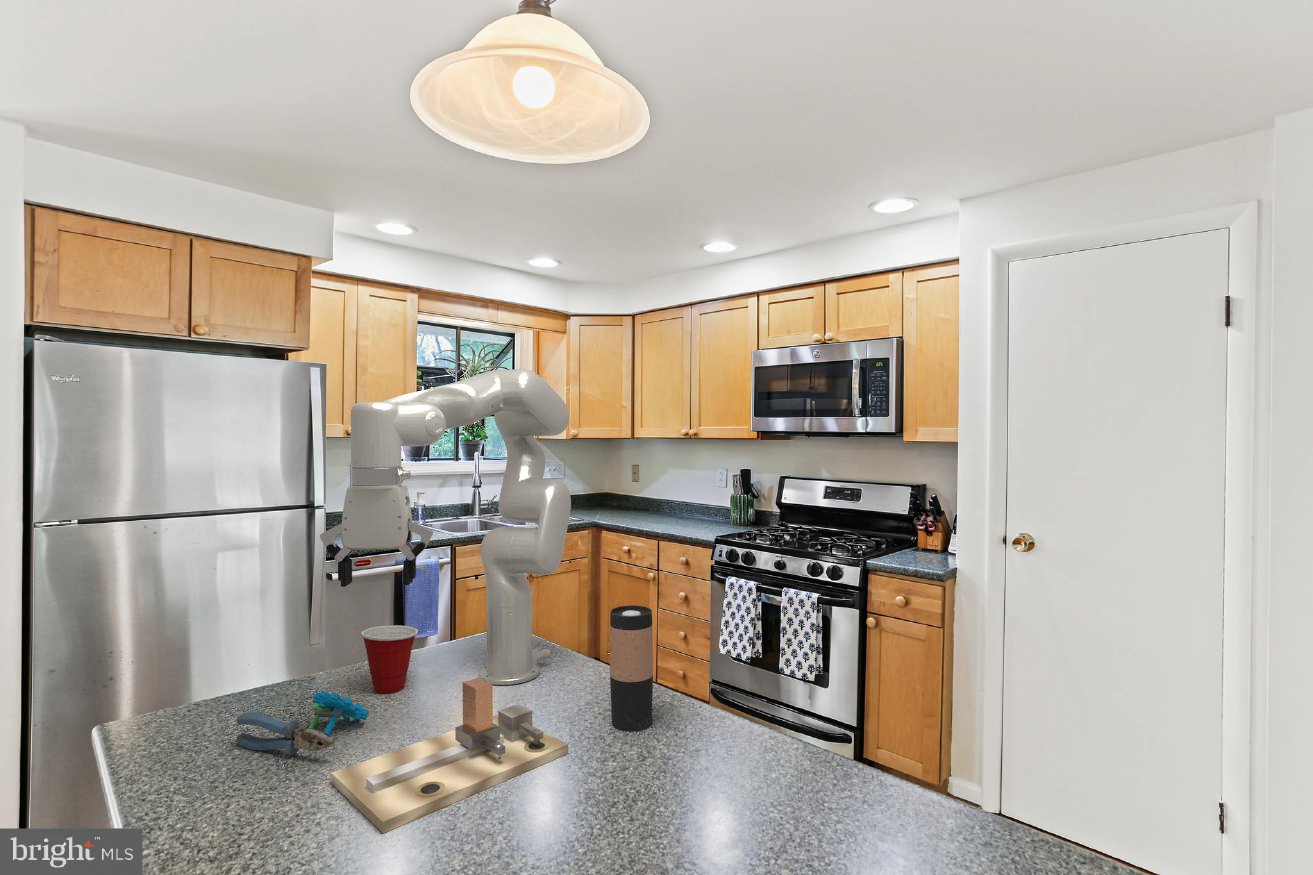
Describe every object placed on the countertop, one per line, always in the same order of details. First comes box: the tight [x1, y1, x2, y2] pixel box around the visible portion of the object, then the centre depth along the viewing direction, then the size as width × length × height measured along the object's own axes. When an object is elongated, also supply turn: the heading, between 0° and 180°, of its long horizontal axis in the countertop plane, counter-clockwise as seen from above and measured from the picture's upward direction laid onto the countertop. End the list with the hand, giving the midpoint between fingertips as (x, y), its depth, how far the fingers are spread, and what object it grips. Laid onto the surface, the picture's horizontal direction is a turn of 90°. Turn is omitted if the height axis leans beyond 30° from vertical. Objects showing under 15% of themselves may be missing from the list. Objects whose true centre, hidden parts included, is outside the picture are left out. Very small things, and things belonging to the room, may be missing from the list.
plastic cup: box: [360, 624, 419, 695], centre depth 135 cm, size 11×11×12 cm
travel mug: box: [609, 604, 654, 732], centre depth 119 cm, size 8×8×20 cm
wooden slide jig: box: [330, 703, 569, 834], centre depth 103 cm, size 30×18×6 cm, turn 135°
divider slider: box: [454, 677, 505, 760], centre depth 104 cm, size 5×10×10 cm, turn 45°
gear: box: [308, 690, 370, 736], centre depth 116 cm, size 11×6×10 cm
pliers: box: [235, 711, 335, 756], centre depth 108 cm, size 20×2×6 cm, turn 69°
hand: (377, 584), depth 108 cm, fingers open, 9 cm apart
